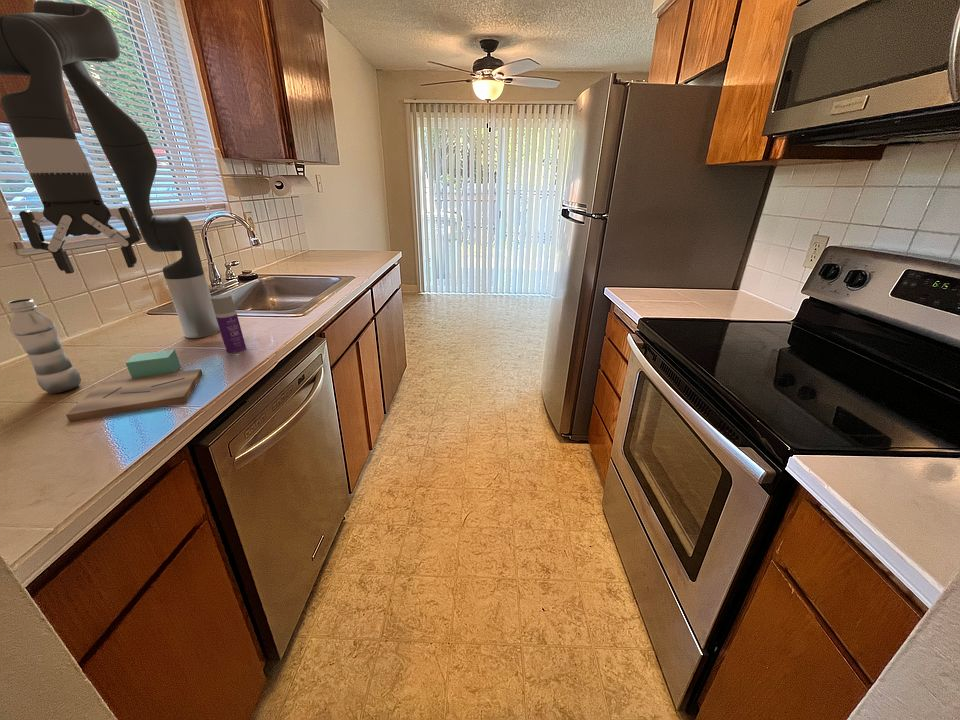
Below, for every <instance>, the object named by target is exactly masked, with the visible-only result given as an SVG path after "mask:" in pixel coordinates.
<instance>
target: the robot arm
mask: <svg viewBox="0 0 960 720" xmlns="http://www.w3.org/2000/svg"><path fill="white" fill-rule="evenodd" d="M120 55H121V47H120V42H119V37H118V36H117V33H116V31H115V29H114V26H113V25H112V23H111V22H110V20H109V19H108V17H107V16H106V15H105V13H104V12H102V11H101V10H99V8H97V7H95V6H93V5H91V4H85V3H78V2H67V1H55V0H36V1H35V2H33V12H17V13H16V12H15V13H11V14H0V75H3V76H20V77H21V76H22V77H29V84H28V87H27V88H26V89H24V90H20V91H16V92H11V93H7V94H6V93H5V94H3V95H2V96H1V98H0V104H1V105H0V106H1V107H2V110H3V113H4V115H5V118H6V119H7V121H8V123H9V126H10V128H11V130H12V133H13V135H14V137H15V138H16V142H17V146H18V150H19V153H20V155H21V158H22V160H23V161H22V162H23V165H24V166H25V169H26V170H27V171H28V173H29V177H30V179H31V180H32V184H33V185H34V187H35V190H36V192H37V194H38V196H39V198H40V199H39V200H40V201H41V203H42V205H43V211H42V210H41V211H39V210H38V211H37V210H34V211H33V210H30V209H26V210H25V209H24V210H21V211H20V212H19V213H18V214H19V218H20V220H21V223H22V225H23V226H22V227H23V228H24V230H25V233H26V235H27V239H28V241H29V243H30V246H31V248H33V249H35V250H44V251H47V252H49V253H51V255H52V258H53V260H54V261H55V263H56V265H57V267H58V270H60V271H61V272H62V271H63V272H65V274H66V275H68V274H73V273H75V269H74V266H73V264H72V263H71V262H72V261H71V260H70V257H69V255H68V253H67V251H66V249H65V250H64V249H63V247H64V245H65V243H66V241H67V240H68V238H69V237H70V235H71V236H73V237H80V236H84V235H90V236H95V235H96V236H97V235H99V234H104V235H105V236H106V237H108V238H110V239H112V240H113V241H115V242H116V243H117V244H119V245H120V250H121V253H122V255H123V256H122V257H123V258H124V261H125V263H126V266H127V268H129V269H130V268H131V269H132V268H134V267H135V265H136V264H137V261H138V259H137V257H136V254H135V251H134V248H133V244H135V243H138V242H139V241H141V240H142V238H143V240H144V242H145V244H146V245H147V247H148V248H149V249H150V250H152V251H153V252H157V253H168V252H169V253H170V252H181V257H180V258H179V259H178V260H177V261H175V262H172V263H170V264H169V263H168V264H167V265H165V266H163V268H162V274H163V277H164V279H165V282H166V285H167V288H168V290H169V294H170V297H171V300H172V302H173V306H174V309H175V310H176V311H175V312H176V314H177V317H178V320H179V323H180V326H181V329H182V332H183V335H184V337H185V338H188V339H199V338H205V337H209V336H213V335H215V334H218V333H219V332H220V329H219V326H218V323H217V319H216V316H215V312H214V309H213V305H212V301H211V297H212V295H211V291H210V288H209V285H208V283H207V279H206V276H205V275H206V274H205V272H204V268H203V265H202V259H201V257H200V253H199V248H198V245H197V244H198V243H197V241H196V236H195V231H194V229H193V226H192V224H191V222H190V220H189V218H187V217H186V216H185V215H182V214H181V215H180V214H175V215H174V214H173V215H156V214H154V212H153V210H152V207H151V202H150V198H151V192H152V191H151V190H152V186H153V184H154V180H155V178H156V174H157V169H158V161H157V160H158V159H157V157H156V155H155V151H154V150H153V148H152V145H151V143H150V141H149V138H148V135H147V134H146V132H145V130H144V129H143V127H141V125H140V124H139V123H138V122H137V121H136V120H135V119H134V118H132V116H131V115H129V113H127V112H126V111H125V110H124V109H123V108H122V107H120V106H119V105H118V104H117V103H116V102H115V101H114V100H113V99H112V98H111V97H110V96H109V95H107V93H106V92H105V91H104V90H103V89H102V88H101V87H100V86H99V84H98V83H97V82H96V81H95V79H94V78H93V76H92V75H91V73H90V71H89V70H88V68H87V66H86V65H85V63H84V62H95V63H97V62H99V63H111V62H115V61H117V60H118V59H119V58H120ZM63 74H64V75H63ZM63 76H65V77H66V78H67V80H68V83H69V84H70V85H71V87H72V89H73V91H74V93H75V94H76V97H77V98H78V100H79V102H80V105H81V106H82V109H83V111H84V113H85V115H86V117H87V119H88V121H89V123H90V125H91V127H92V129H93V132H94V134H95V136H96V139H97V140H98V143H99V145H100V147H101V149H102V151H103V153H104V155H105V158H106V159H107V161H108V163H109V164H110V166H111V169H112V171H113V172H114V174H115V177H116V178H117V180H118V182H119V184H120V186H121V189H122V191H123V192H124V194H125V196H126V199H127V201H128V204H129V206H130V208H129V207H128V206H126V205H125V206H120V207H116V208H108V207H107V205H106V204H105V203H104V200H103V198H102V195H101V192H100V190H99V188H98V184H97V183H96V179H95V177H94V175H93V172H92V169H91V166H90V164H89V162H88V158H87V156H86V154H85V153H84V150H83V148H82V146H81V145H80V143H79V140H78V138H77V136H76V135H77V134H76V133H75V130H74V128H73V126H72V123H71V120H70V117H69V114H68V112H67V107H66V99H65V92H64V80H63V79H64V77H63ZM130 209H131V210H130ZM112 216H115V218H117V220H118V221H122V222H123V224H124V226H125V229H126V231H127V232H128V234H129V236H125V235H124V234H123V233H121V232H120V231H119V230H118V229H117V228H115V227H114V226H112V225H111V224H110V223H109V222H110V219H111V217H112ZM44 218H45V219H46V220H47V221H49V222H50V223H51V224H53V225H55V226H56V228H55V231H54V232H53V234H52V237H51V239H50V241H46V239H45V236H44V234H43V232H42V228H41V226H40V225H42V224H43V222H44V220H43V219H44ZM135 221H136V222H135Z"/></svg>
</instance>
